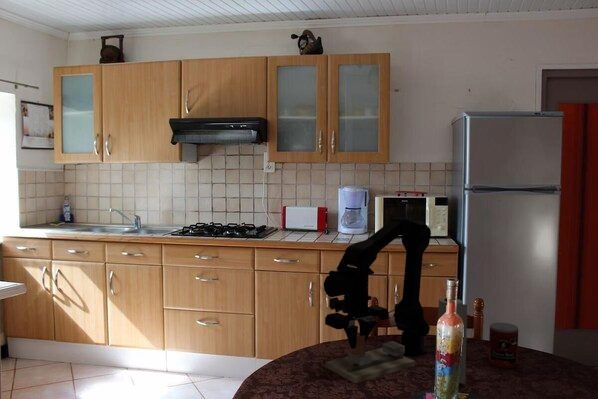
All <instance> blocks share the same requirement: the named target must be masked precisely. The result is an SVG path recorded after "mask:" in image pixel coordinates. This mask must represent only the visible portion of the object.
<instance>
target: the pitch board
mask: <svg viewBox="0 0 598 399" xmlns="http://www.w3.org/2000/svg"><path fill="white" fill-rule="evenodd" d="M365 352H366V353H368V354H370V355H371V363H368V364H364V365H360V366H359V365H355V363H353V362H351V361H349V360H348V356H345V357H339V358H335V359H332V360H329V361H325V364H324V365H325V368H326V369H328V370H330V371H332V372H333V373H335V374H337V375H338V376H340V377H343V378H344V379H346V380H348V381H350V382H351V383H353V384H357V383H361V382H365V381H368V380H369V381H370V380H372V379H375V378H379V377H381V376H382V377H383V376H385V375H389V374H392V373H396V372H399V371H402V370H405V369H409V368H413V367H416V365H415V364H416V360H414V359H412V358H409V357H406V356H404V354H406V353H405V346H403V345H401V343H398V342H396V341H393V340H391V341H387V342H383V343H382V347H381V348H380V347H379V348H376V349H372V350H368V351H365Z"/></svg>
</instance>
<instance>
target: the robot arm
mask: <svg viewBox="0 0 598 399" xmlns="http://www.w3.org/2000/svg"><path fill="white" fill-rule="evenodd" d="M399 236H401V243H402V246H403V248H404V250H405V262H404V263H405V265H404V275H403V287H402V298H401V300H400V301H399V303H395V304H394V312H393V316H392V317H393V318H394V322H395V325H396V329H397V330H398V331H401V338H400V344H401V345H403V346H405V354H406V355H409V356H411V357H416V356H419V355H422V354H426V353H428V350H426V349H424V338H425V337H426V336H427V335H428V334H429V333H430V329H431V326H430V325H429V324H428V322H427V321H426V320H425V318H424V308H423V306H422V304H421V302H420V292H421V291H420V290H421V279H422V269H423V258H424V257H423V256H424V252H425V251H426V250H427V248H428V247H429V246H430V241H431V237H432V230H431V228H430V227H429V225H428V224H426V223H418V222H414V221H411V220H408V219H406V218H402V217H401V218H400V217H392V218H390V219H389V221H388V222H387V223H386V224H385V225H384V226H382V227H380V229H378V230H377V231H376V232H374V233H373V234H371V235H370V236H369V237H368V238H366V239H364V240H362V241H357V242H355V243H351V245H349V246H347V247H346V248H345V250H344V254H343V255H342V257H341V259H340V261H339V263H338V265H337V267H336V270H329V271H328V275H327V276H326V278H325V279H324V281H323V291H324V292H325V294H326V295H327V296H328V297H330V298H329V304H328V305H329V307H330V310H331V311H333V310H334V311H335V312H333V313H328V314H327V315H325V317H324V325H325V326H328V327H331V328H333V329H335V330H343V331H344V332H345V336H346V337H347V341H348V344H349V348H350V347H351V348H352V349H354V348H355V344H356V338H357V332H359V333H361V334H363V335H365V344H366V343H367V340H368V339H369V337H370V335H371V332H372V331H373V330H374V329H375V327H376V325H378V324H379V323H378V321H376V320H375V317H378V319H379V320H380V321H386V320H389V318H390V312H389V310H388V308H387V307H386V308H385V307H382V306H380V305H377V304H376V305H370V306H369V301H372V296H371V295H370V294H369V284H370V283H369V279H370V278H369V276H371V275H375V271H374V270H373V269H371V266H372V265H373V264H374V262H375V261H377V257H378V254H379V253H380V252H381V251H382V250H383V249H384V248H385V247H386V248H387V246H388V245H390V244H391V243H392V242H393V241H395V240H396V239H397V238H398V237H399ZM340 296H343V299H339V298H338V297H340ZM340 312H342V313H343V314H341V313H340ZM356 321H357V323H358V325H359V326H358V325H356Z"/></svg>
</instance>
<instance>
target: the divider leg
mask: <svg viewBox="0 0 598 399" xmlns="http://www.w3.org/2000/svg"><path fill="white" fill-rule="evenodd" d="M366 352H367V351H366V343H365V335H363V334H361V333H360V331H358V332H357V338H356V344H355V348H354V349H352V348H351V347H350V346H349V351H348V352H347V357H348V360H349V361H351V362H353V363H355V365H359V366H360V365H364V364H368V363H371V355H370V354H368V353H366Z"/></svg>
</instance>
